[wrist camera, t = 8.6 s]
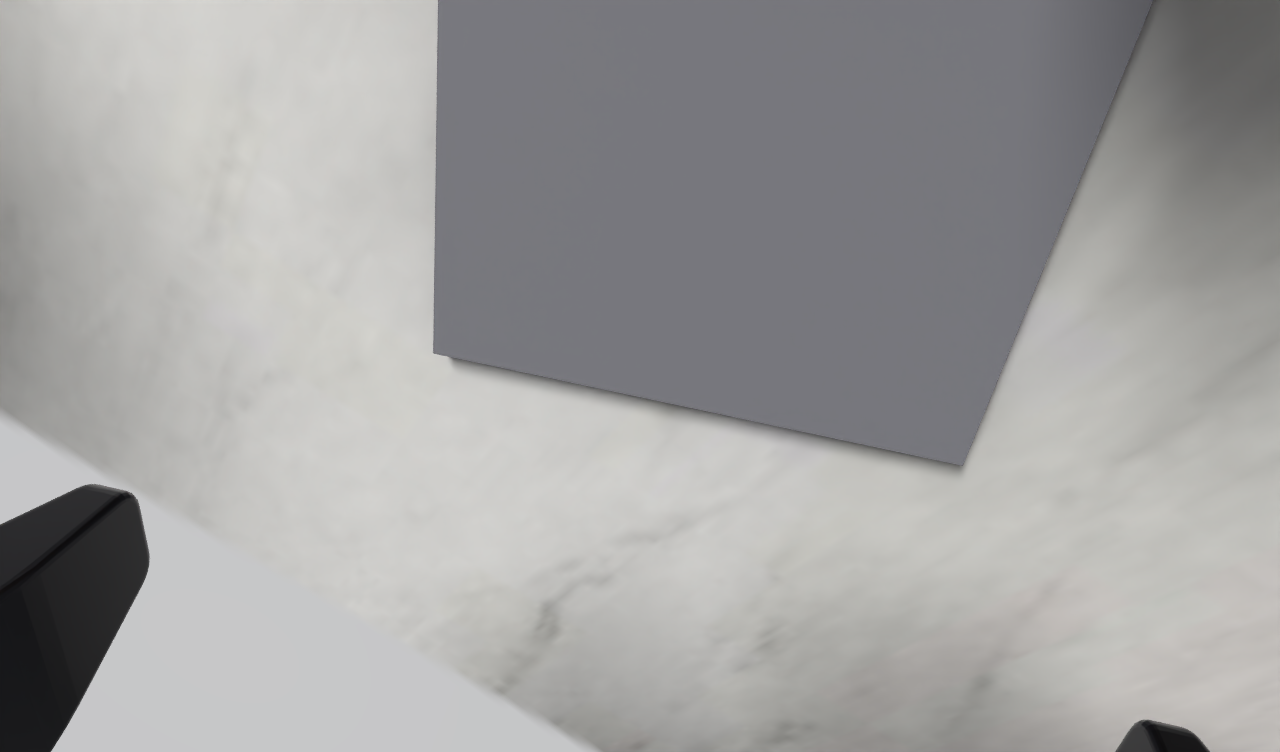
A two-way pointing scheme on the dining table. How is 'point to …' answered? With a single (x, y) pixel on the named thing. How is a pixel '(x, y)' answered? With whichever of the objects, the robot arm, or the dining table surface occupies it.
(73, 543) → the robot arm
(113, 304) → the dining table surface
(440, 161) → the coaster
